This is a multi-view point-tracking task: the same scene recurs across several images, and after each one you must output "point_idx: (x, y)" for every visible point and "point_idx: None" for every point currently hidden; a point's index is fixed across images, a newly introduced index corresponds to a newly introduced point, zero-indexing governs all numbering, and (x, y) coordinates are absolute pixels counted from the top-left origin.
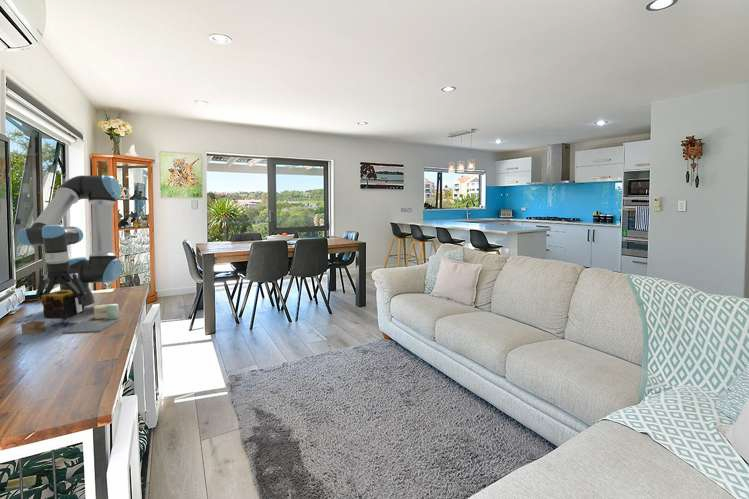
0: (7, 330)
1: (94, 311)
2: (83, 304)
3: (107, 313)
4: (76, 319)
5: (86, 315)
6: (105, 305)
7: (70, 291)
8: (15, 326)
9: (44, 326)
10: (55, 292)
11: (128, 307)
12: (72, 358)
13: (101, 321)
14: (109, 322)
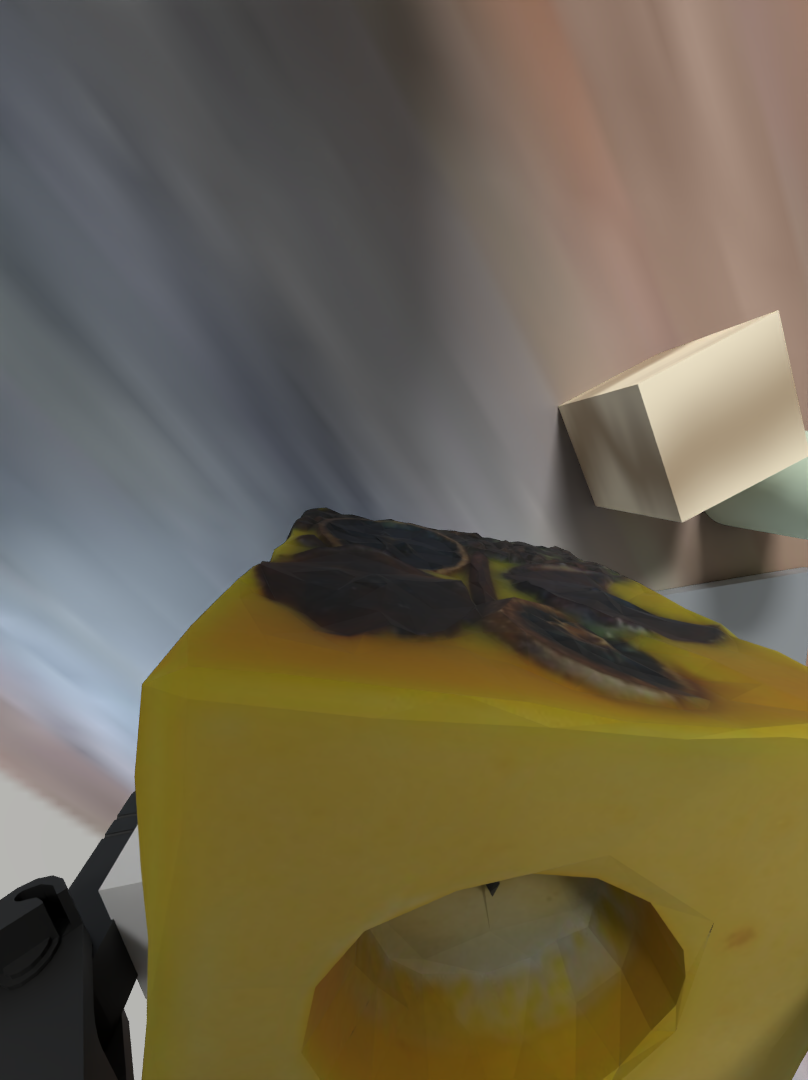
0: (57, 801)
1: (655, 515)
2: (630, 579)
3: (769, 527)
4: (428, 505)
5: (435, 361)
6: (762, 378)
7: (701, 895)
8: (6, 707)
9: None
10: (268, 1034)
11: (738, 5)
12: (799, 1069)
13: (713, 616)
14: (782, 640)
